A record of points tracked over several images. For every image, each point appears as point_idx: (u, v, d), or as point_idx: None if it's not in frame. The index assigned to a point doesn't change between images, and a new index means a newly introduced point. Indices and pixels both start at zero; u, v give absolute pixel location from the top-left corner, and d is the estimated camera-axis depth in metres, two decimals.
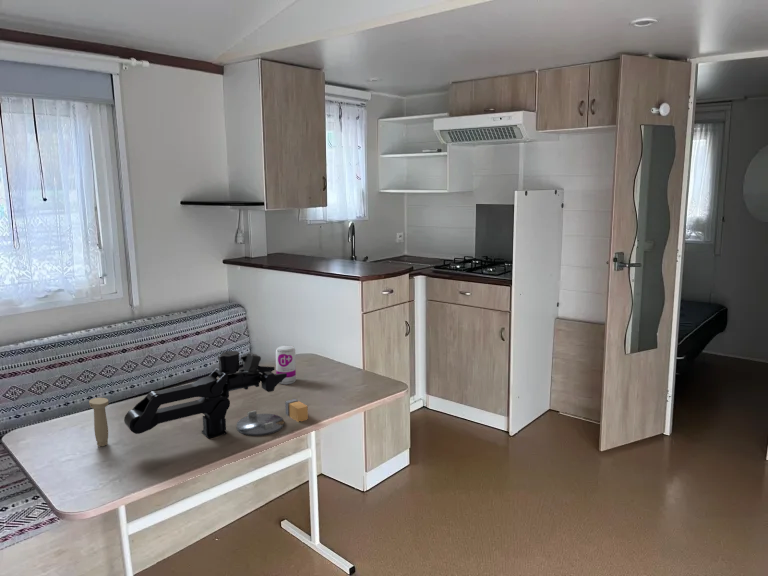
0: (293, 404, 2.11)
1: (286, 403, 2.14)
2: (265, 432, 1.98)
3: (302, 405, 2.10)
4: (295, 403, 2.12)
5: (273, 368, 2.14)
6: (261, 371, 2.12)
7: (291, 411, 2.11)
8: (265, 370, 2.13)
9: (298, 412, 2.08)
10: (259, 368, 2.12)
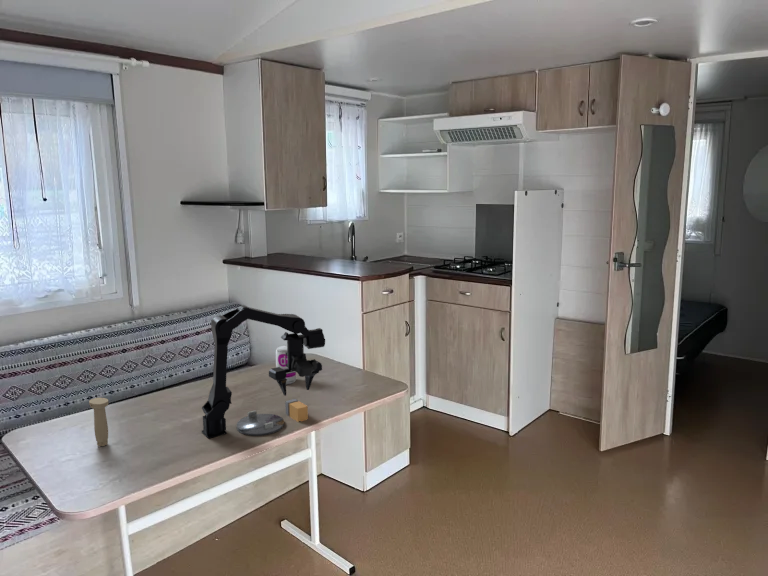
0: (293, 404, 2.11)
1: (286, 403, 2.14)
2: (265, 432, 1.98)
3: (302, 405, 2.10)
4: (295, 403, 2.12)
5: (307, 388, 2.13)
6: (307, 376, 2.13)
7: (291, 411, 2.11)
8: (307, 380, 2.13)
9: (298, 412, 2.08)
10: (309, 375, 2.12)
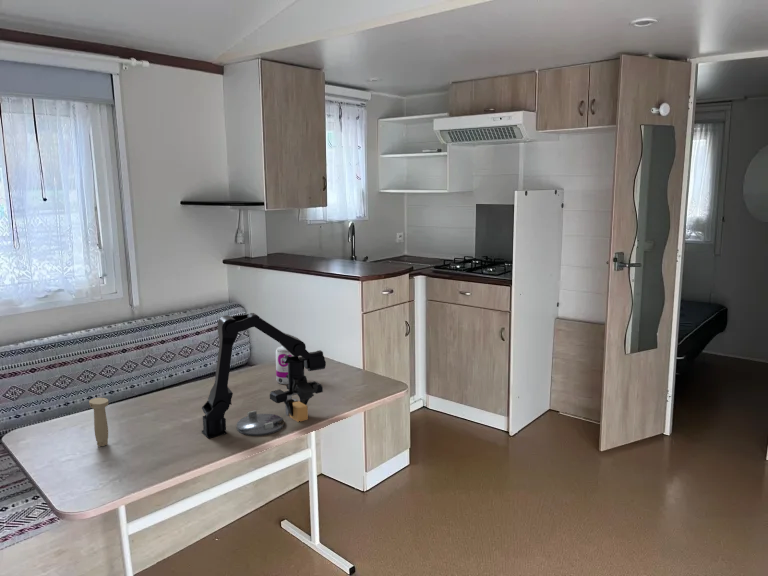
0: (293, 404, 2.11)
1: None
2: (265, 432, 1.98)
3: (302, 405, 2.10)
4: (295, 403, 2.12)
5: None
6: (302, 399, 2.13)
7: None
8: None
9: (298, 412, 2.08)
10: (304, 398, 2.12)
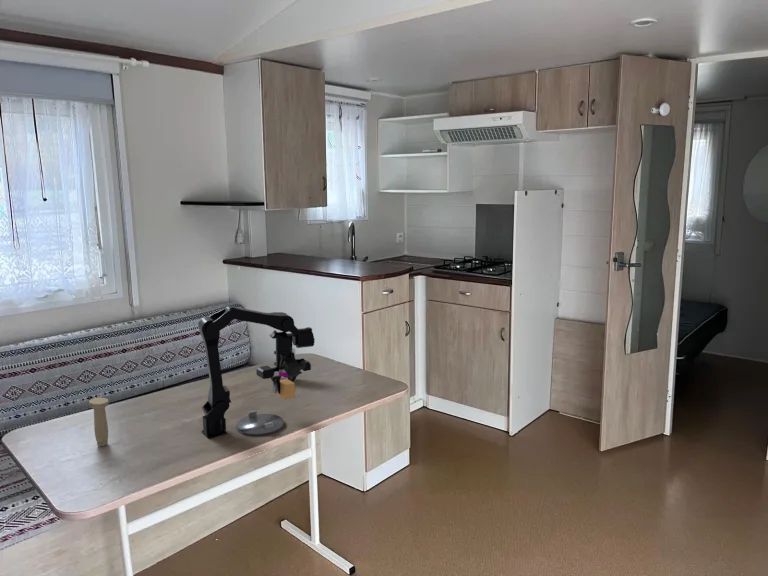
0: (280, 381, 2.07)
1: None
2: (265, 432, 1.98)
3: (289, 382, 2.06)
4: (282, 380, 2.08)
5: None
6: (290, 376, 2.09)
7: None
8: None
9: (285, 389, 2.04)
10: (292, 375, 2.08)
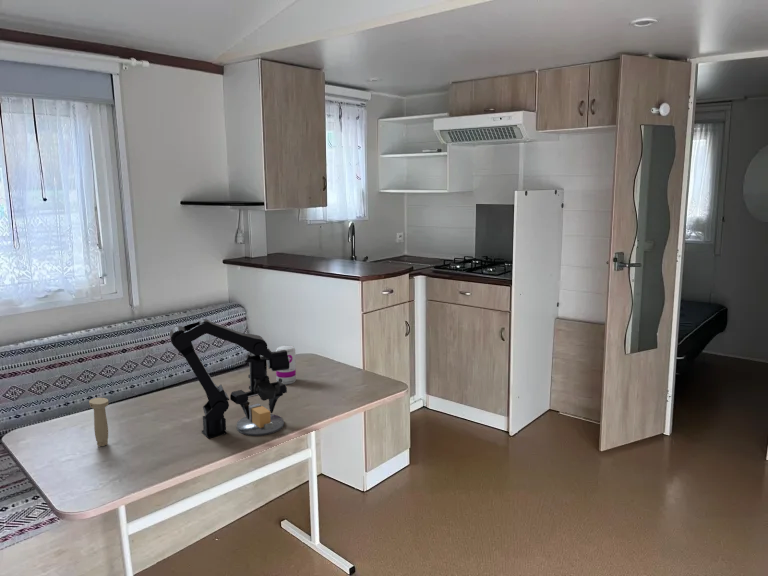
0: (255, 409, 2.03)
1: (249, 408, 2.06)
2: (265, 432, 1.98)
3: (265, 410, 2.03)
4: (258, 408, 2.04)
5: (270, 411, 2.07)
6: (271, 399, 2.06)
7: (253, 416, 2.04)
8: (271, 403, 2.06)
9: (260, 418, 2.00)
10: (273, 398, 2.05)
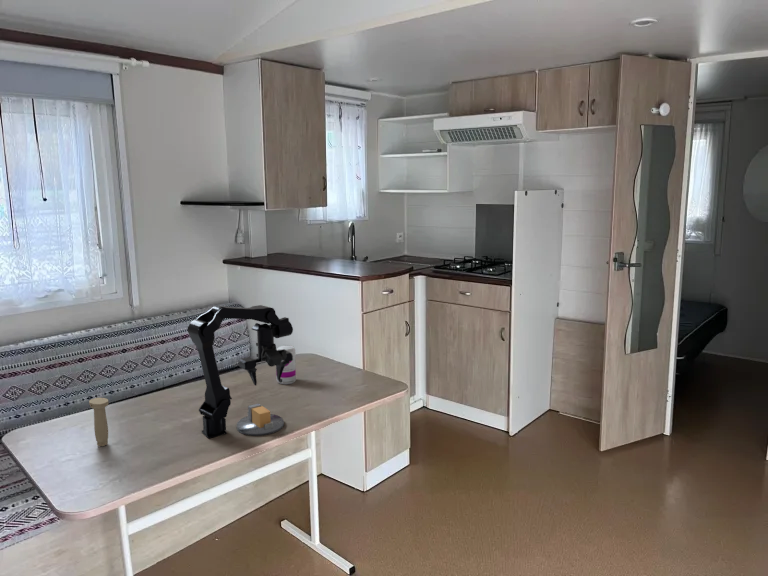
0: (255, 409, 2.03)
1: (249, 408, 2.06)
2: (265, 432, 1.98)
3: (265, 410, 2.03)
4: (258, 408, 2.04)
5: (278, 378, 2.16)
6: (278, 366, 2.15)
7: (253, 416, 2.04)
8: (278, 370, 2.16)
9: (260, 418, 2.00)
10: (280, 365, 2.14)
